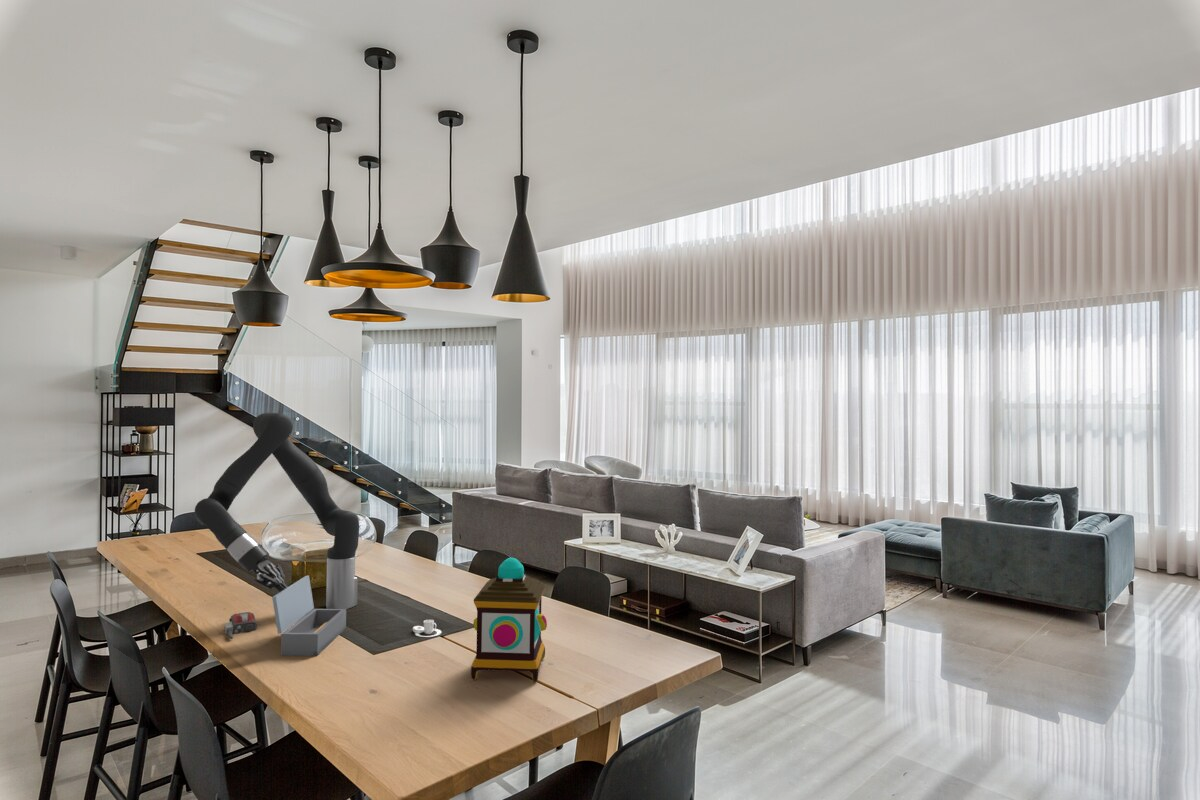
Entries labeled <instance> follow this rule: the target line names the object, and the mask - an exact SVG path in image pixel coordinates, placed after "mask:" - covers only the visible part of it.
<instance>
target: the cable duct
mask: <svg viewBox="0 0 1200 800" xmlns="http://www.w3.org/2000/svg"><path fill="white" fill-rule="evenodd" d="M346 628H347V609H327V608H314V609H312V610H311V611H310V612H308V613H307V614H306V615H305V616H303V617H302V618H301V619H299V620H298V621H297V622H296V623H294V624H293V625H292V626H290V627H289V628H288V629H287V630H285V631H284V632H283V633H281V639H280V640H281V642H280V643H281V645H280V647H281V649H280V650H281V651H280V656H284V657H285V656H286V657H288V656H292V657H293V656H296V657H299V656H301V657H306V656H307V657H308V656H309V657H312V656H313V657H315V656H316V657H317V656H320V654H321V653H322V652H324V650H325V649H326V648H327V647H328V646H329V645H330V644H331V643H332V642H333V641H335V639H337V637H339V635H341V634H342V633H343V632H344V631H345V630H346Z"/></svg>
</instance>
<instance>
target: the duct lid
mask: <svg viewBox="0 0 1200 800" xmlns="http://www.w3.org/2000/svg"><path fill="white" fill-rule="evenodd" d="M311 586H312V585H311V579H310V575H305V576H303V577H302V578H300V579H299V580H297V581H295V582H293V583H292V584H291V585H289V586H288V587H287V588H286V589H284V590H283V591H281V592H279V591H278V592H277V594H274V595H273V596H272V597H271V598H272V605H273V610H274V617H275V624H276V629H277V634H278V635H279V634H281V635H282V633H284V632H285V631H286V630H287V629H289V628H290V627H291V626H293V625H294V624H295V623H296V622H298V621H299V620H300V619H302V618H303V617H304V616H305V615H307V614H308V613H309V612H311V611H312V610H313V609H315V606H314V600H313V592H312V587H311Z"/></svg>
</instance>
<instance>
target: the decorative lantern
mask: <svg viewBox="0 0 1200 800" xmlns="http://www.w3.org/2000/svg"><path fill="white" fill-rule="evenodd" d="M497 571H498V572H497V576H496V577H495V578H489V580H488V581H487V582H486V583H485V584H484V585H483V586H482V588H481V589H480V590H479V592H478V593H477V594H476V596H475V597H474V598H473V604H474V606H475V608H476V617H475V618H474V619H473V628H474V630H475V631H476V650H475V651H476V655H475V657H474V659H473V661H472V664H471V667H470V676H471V677H470V679H472V680H473V681H475V680H477V678H478V674H479V673H478V672H479V671H493V672H494V671H498V672H500V671H501V672H502V671H503V672H528V673H530V674H531V676H532V681H533V682H534V683H535V682H537V681H538V678H539V669H540V666H541V663H542V659H543V660H544V659H545V657H546V656H545V655H546V646H545V644H544V642H543V640H542V632H543V631H545V630H547V626H548V624H547V622H548V621H547V618H546V616H545V615H544V614H542V600H543V599H542V598H543V594H544V592H545V590H546V585H545V584H544V583H543V582H542V581H540V580H539V579H533V578H532V577H530V576H529V575H527V574H526V572H525V568H524V565H523V564H522V563H521V562H520V561H519V560H518V559H517V558H514V557H508V558H506V559H505V560H503V561H502V563H500V565H499V567H498V570H497Z"/></svg>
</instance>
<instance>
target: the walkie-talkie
mask: <svg viewBox="0 0 1200 800" xmlns="http://www.w3.org/2000/svg"><path fill="white" fill-rule="evenodd" d="M228 619H229V621H227V623H225V624H224V634H225V635H226V634H227V635H228V639H230V640H233V638H234V636H233V634H237V633H245V632H252V631H256V630H257V628H258V623H257V620H256V617H255V615H254V612H251V611H246V612H245V611H244V612H239V613H234V614H232V615H230V618H228Z"/></svg>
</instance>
